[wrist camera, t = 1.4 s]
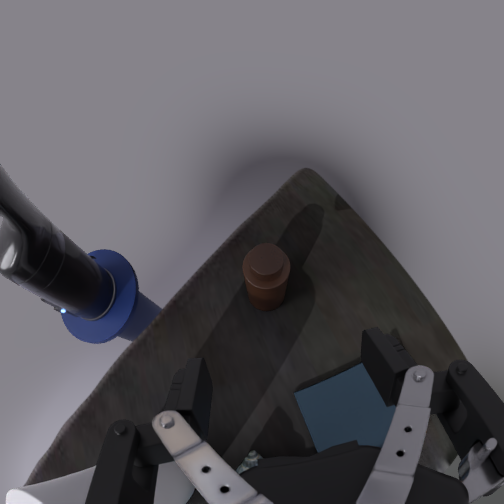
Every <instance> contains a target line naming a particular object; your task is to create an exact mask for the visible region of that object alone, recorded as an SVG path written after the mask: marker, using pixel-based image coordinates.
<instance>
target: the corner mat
mask: <svg viewBox="0 0 504 504" xmlns="http://www.w3.org/2000/svg"><path fill="white" fill-rule="evenodd" d="M294 395H295V397H296V400H297V402H298V405H299V407H300V410H301V412H302V415H303V417H304V420H305V422H306V425H307V427H308V430H309V432H310V435H311V437H312V440H313V442H314V445H315V447H316V450H317V452H318V453H319V452H321V451H323V450H325V449H328V448H330V447H332V446H335V445H339V444H343V443H346V442H350V441H353V440H357V442H358V445H370V446H376V447H380V448H382V446H383V443H384V441H385V438H386V436H387V433H388V430H389V427H390V425H391V422H392V419H393V416H394V413H395V409H396V407H395V405H393V406H390V407H386V405H385V403H384V401H383V399H382V397H381V396H380V394H379V392H378V390H377V388H376V387H375V385H374V383H373V381H372V380H371V378H370V376H369V374H368V373H367V371H366V369H365V367H364V366H363V363H362V362H361V363H359V364H357V365H355V366H353V367H351V368H349V369H347V370H345V371H343V372H341V373H339V374H337V375H334V376H332V377H330V378H328V379H326V380H323V381H321V382H319V383H316V384H314V385H312V386H309V387H307V388H304V389H302V390H299V391H297V392H294ZM426 433H427V431H426Z"/></svg>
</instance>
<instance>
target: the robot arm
mask: <svg viewBox="0 0 504 504" xmlns="http://www.w3.org/2000/svg"><path fill="white" fill-rule="evenodd" d="M0 216H2V217H3V221H2V225H1V228H0V273H1V274H2V275H3V276H4V277H6V278H7V279H9V280H11V281H12V282H14V283H16V284H17V285H19V286H21V287H23V288H25V289H26V290H28V291H30V292H32V293H34V294H35V295H37V296H39V297H41V300H42V301H43V302H45V303H47V304H49V305H51V306H53V307H54V310H56V311H58V312H60V313H63V314H64V313H68V314H70V315H72V316H75V317H81V318H83V319H85V320H88V321H96V320H99V319H101V318H103V317H104V316H105V315H106V314H107V313H108V312H109V311H110V310H111V308H112V306H113V304H114V301H115V298H116V282H115V279H114V277H113V276H112V274H111V273H110V272H109V271H108V270H106V269H105V268H103V267H102V266H101V265H99V264H98V263H97V262H96V261H95V260H93V259H96V258H95V257H94V256H90V255H88V254H86V253H85V252H84V251H83V250H82V249H81V248H79V247H78V246H77V245H76V244H75V243H74V242H73V241H71V240H70V239H69V238H68V237H67V236H66V235H65V234H64V233H63V232H62V231H61V230H59V229H58V228H57V227H56V226H55V225H54V224H53V223H52V222H51V221H50V220H49V219H48V218H47V217H46V216H45V215H44V214H43V213H42V212H40V210H39V209H37V207H36V206H35V205H34V204H33V203H32V202H31V201H30V200H29V199H28V198H27V197H26V196H25V195H24V194H23V192H22V191H21V190H20V189H19V188H18V187H17V185H16V184H15V183H14V182H13V181H12V179H11V178H10V177H9V175H8V174H7V173H6V171H5V170H4V168H3V167H2V166H1V164H0ZM92 258H93V259H92ZM361 360H362V363H363V366H364V367H365V369H366V371H367V373H368V374H369V376H370V378H371V380H372V381H373V383H374V385H375V387H376V388H377V390H378V392H379V394H380V396H381V397H382V399H383V401H384V403H385V405H386V407H390V406H393V405H395V407H396V409H395V413H394V416H393V419H392V422H391V425H390V427H389V430H388V433H387V436H386V438H385V441H384V443H383V446H382V448H380V447H376V446H370V445H358V442H357V440H353V441H350V442H346V443H343V444H339V445H335V446H332V447H330V448H328V449H325V450H323V451H321V452H319V453H316V454H314V455H312V456H308V457H298V456H278V457H271V458H262V459H257V462H258V465H257V466H254V467H251V468H249V469H247V470H245V471H243V472H241V473H240V474H237V473H236V472H235V471H234V470H233V469H232V468H231V467H230V466H229V465H228V464H227V463H226V462H225V461H224V460H223V459H222V458H221V457H220V456H219V455H218V454H217V453H216V452H215V450H214V449H213V448H212V447H211V446H210V445H209V444H208V443H207V442H206V441H205V440H207V435H208V426H209V417H210V408H211V400H212V391H213V387H212V381H211V377H210V374H209V371H208V368H207V365H206V362H205V360H204V358H192V359H188V361H187V365H186V369H179V371H178V372H177V373H176V374H175V375H174V377H173V381H172V385H171V387H170V391H169V394H168V398H167V401H166V404H165V408H164V411H163V412H161V413H159V414H158V415H156V416H155V418H154V419H153V421H152V422H151V423H148V424H143V425H138V426H135V425H134V424H133V422H131V421H129V420H119V421H116V422H114V423H113V424H112V425H111V426H110V427H109V429H108V432H107V435H106V438H105V440H104V443H103V446H102V449H101V452H100V455H99V458H98V461H97V464H96V468H95V471H94V474H93V477H92V480H91V484H90V487H89V491H88V494H87V498H86V501H85V504H154V496H155V489H156V482H157V475H158V468H159V464H163V463H168V462H173V461H175V462H176V463H177V464H178V466H179V467H180V468H181V470H182V471H183V472H184V474H185V475H186V476H187V478H188V479H189V480H190V481H191V483H192V484H193V485H194V486H195V488H196V489H197V490H198V491H199V492H200V494H201V495H202V496H203V497H204V498H205V499H206V501H207V502H208V503H209V504H470V503H472V502H474V501H475V500H477V499H478V498H480V497H481V496H489V495H491V494H493V493H494V492H495V491H496V490H497V489H498V488H500V487H501V486H502V485H503V484H504V403H503V402H502V401H501V399H500V398H499V397H498V395H497V394H496V393H495V392H494V390H493V389H492V388H491V387H490V386H489V384H488V383H487V382H486V381H485V379H484V378H483V377H482V376H481V375H480V373H479V372H478V371H477V370H476V369H475V368H474V366H473V365H472V364H471V363H470V362H468V361H465V360H456V361H454V362H452V363H451V364H450V366H449V369H448V370H446V371H439V372H433V371H432V370H431V369H430V368H428V367H426V366H421V365H417V363H416V362H415V361H414V360H413V358H412V357H411V356H410V355H409V354H408V352H407V351H406V350H404V347H403V346H402V345H400V343H399V341H398V340H397V339H396V338H395V337H393V336H391V335H389V334H385V335H384V334H383V333H382V332H381V331H380V329H379V328H378V327H375V328H371V329H367V330H364V331H363V332H362V346H361ZM430 414H436V415H437V416H438V418H439V420H440V422H441V423H442V425H443V427H444V429H445V431H446V432H447V434H448V436H449V438H450V440H451V441H452V443H453V445H454V447H455V449H456V451H457V453H458V455H459V456H460V458H461V462H460V464H459V467H458V472H459V480H458V479H457V478H454V477H451V476H448V475H445V474H443V473H440V472H437V471H435V470H432V469H430V468H427V467H424V466H422V465H420V464H418V460H419V457H420V454H421V450H422V446H423V442H424V439H425V434H426V430H427V426H428V421H429V416H430Z"/></svg>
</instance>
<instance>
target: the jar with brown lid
mask: <svg viewBox="0 0 504 504" xmlns="http://www.w3.org/2000/svg"><path fill="white" fill-rule="evenodd" d="M289 273H290V261H289V258H288V257H287V255H286V254H285V253H284V252H283V251H282V250H281V249H280V248H279V247H277V246H276V245H274V244H271V243H262V244H259V245H257V246H256V247H254V248H253V249H252V250H251V251H250V252H249V253H248V254H247V255H246V257H245V259H244V261H243V274H244V278H245V283H246V288H247V293H248V297H249V300H250V302H251V304H252V305H253V306H254V307H255V308H257V309H259V310H262V311H271V310H274V309H276V308H278V307H279V306H280V305H281V304H282V302H283V300H284V297H285V292H286V287H287V283H288V278H289Z"/></svg>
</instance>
